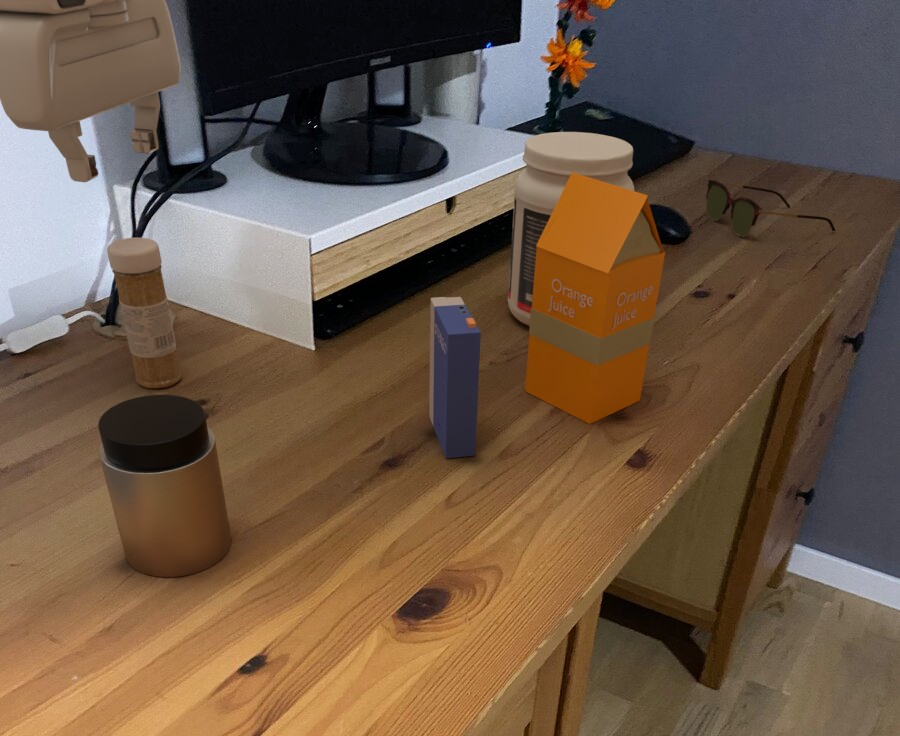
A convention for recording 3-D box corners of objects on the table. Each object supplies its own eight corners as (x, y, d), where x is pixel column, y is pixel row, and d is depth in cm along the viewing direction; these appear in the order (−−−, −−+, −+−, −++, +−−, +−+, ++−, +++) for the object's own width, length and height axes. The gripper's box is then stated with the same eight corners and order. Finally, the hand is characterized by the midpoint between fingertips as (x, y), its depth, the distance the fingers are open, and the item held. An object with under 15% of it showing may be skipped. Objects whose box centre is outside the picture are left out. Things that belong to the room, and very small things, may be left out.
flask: (103, 565, 68) (67, 436, 61) (160, 508, 74) (132, 384, 67) (199, 587, 67) (173, 456, 60) (249, 526, 72) (231, 401, 65)
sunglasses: (699, 212, 137) (708, 176, 134) (781, 213, 142) (792, 179, 139) (750, 243, 127) (761, 206, 124) (838, 244, 131) (851, 207, 128)
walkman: (475, 456, 82) (481, 327, 74) (445, 459, 81) (448, 330, 73) (457, 414, 87) (461, 291, 80) (428, 416, 87) (429, 293, 79)
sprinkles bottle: (169, 366, 94) (144, 232, 85) (190, 382, 91) (166, 246, 83) (127, 378, 92) (97, 241, 83) (147, 395, 89) (118, 256, 80)
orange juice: (575, 369, 95) (600, 164, 83) (641, 400, 90) (678, 187, 78) (522, 391, 91) (539, 179, 79) (588, 425, 86) (618, 204, 74)
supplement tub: (638, 328, 104) (667, 154, 92) (541, 346, 100) (557, 166, 88) (579, 288, 113) (598, 125, 101) (487, 303, 108) (495, 134, 97)
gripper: (117, -44, 78) (149, 133, 87) (-49, -18, 63) (10, 193, 72) (183, -40, 77) (209, 139, 85) (29, -13, 61) (80, 202, 70)
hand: (117, 165), depth 78 cm, fingers open, 8 cm apart
